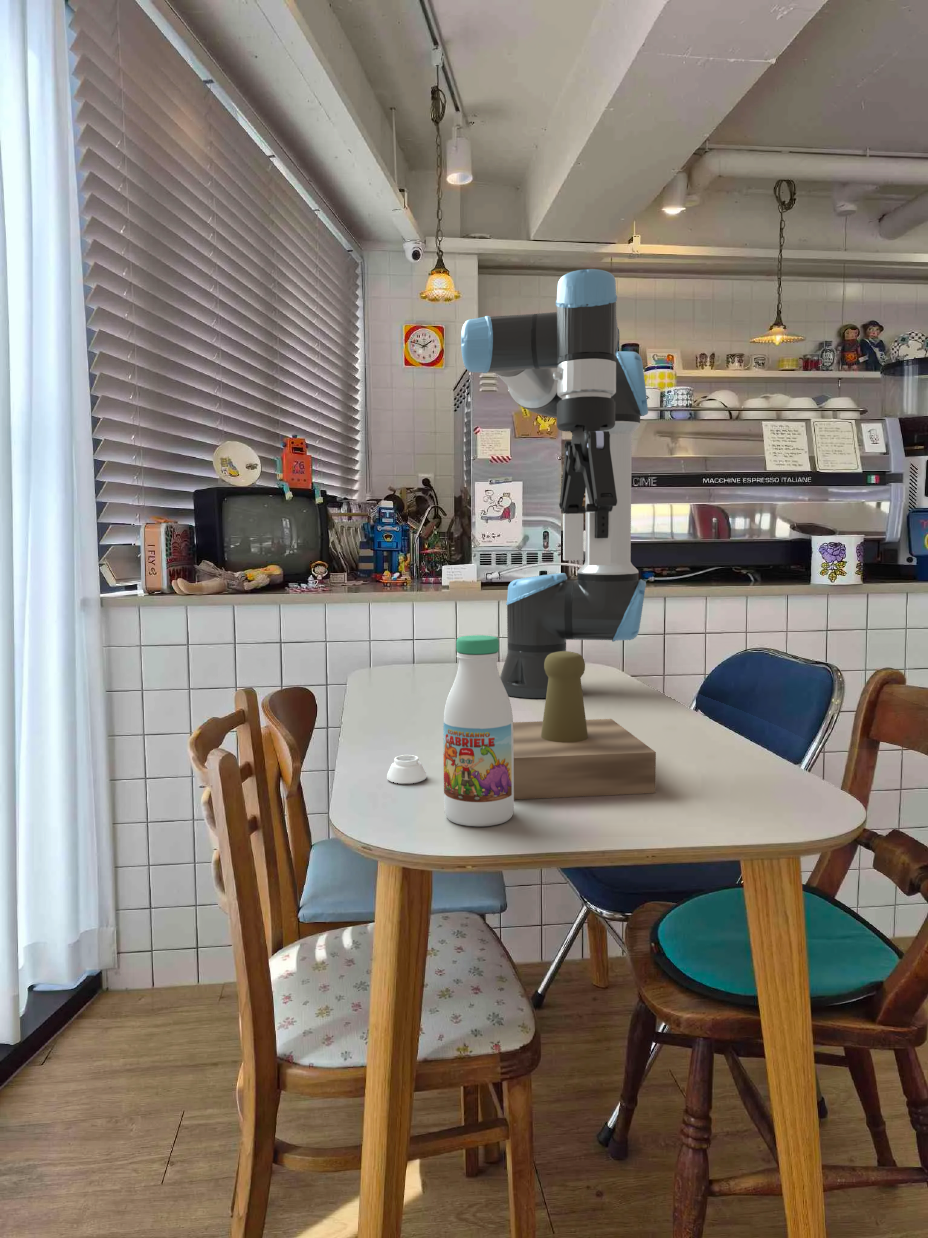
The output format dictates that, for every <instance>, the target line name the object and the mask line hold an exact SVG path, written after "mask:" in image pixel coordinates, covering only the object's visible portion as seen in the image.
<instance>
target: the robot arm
mask: <svg viewBox="0 0 928 1238" xmlns="http://www.w3.org/2000/svg"><path fill="white" fill-rule="evenodd" d="M556 291H557V292H556V300H555V307H556V311H555V312H541V313H530V314H513V315H497V316H496V315H495V316H489V315H485V316H483V317H476V318H471V319H467V320H466V321H464V324H463V325H462V327H461V333H460V347H461V348H460V349H461V350H460V351H461V357H462V362H463V365H464V368H465V369H466V370H467V371H468V372H469V373H482V374H488V373H494V374H495V375H497V376H498V378H499V379H501V380H502V382H504V384H505V385H506V386H507V389H508V393H509V395H510V396H511V398H512V399H513V400H514V401H515V403H517V404H518V405H519V406H520V407H522V408H523V409H525V410H527V411H530V412H533V413H535V414H538V415H540V416H545V417H548V418H553V419H556V428H557V429H558V430H559V431H562V432H570V433H571V440H568V441H567V440H565V443H564V447H563V448H564V457H563V466H562V467H563V469H562V479H561V488H560V494H559V495H560V497H559V503H558V506H559V509H560V510H561V511H562V513H563V516H562V517H563V518H562V522H563V523H562V525H563V526H562V527H563V530H562V534H563V538H562V541H563V542H562V543H563V546H562V549H563V550H562V553H563V555H562V560H563V561H584V560H585V561H584V564H583V565H581V566H580V567H579V569H578V570H577V572H576V573H577V577H576V578H577V579H576V580H575V579H573V580H572V579H571V580H568V576H567V574H566V573H565V572H561V573H558V572H557V573H551V574H550V573H549V574H542V575H535V576H528V577H522V578H518V579H514V580H512V581H510V583H509V584H508V586H507V595H506V598H507V600H506V603H505V604H506V606H507V607H506V609H507V611H506V612H507V614H506V616H507V617H506V618H507V619H506V623H507V626H506V627H507V634H506V635H507V641H506V643H507V650H506V651H507V652H506V657H505V660H504V662H503V666H502V669H501V672H500V678H501V681H502V683H503V685H504V688H505V690H506V692H507V694H508V697H509V696H510V697H514V698H523V699H546V694H547V686H548V679H549V677H548V676H547V674H546V672H545V669H544V662H545V659H546V657H547V655H549V654H551V653H554V652H560V651H567V641H568V640H569V641H571V640H574V641H577V640H578V641H611V642H616V641H631V640H634V639H636V638H637V637H638V635H639V632H640V628H641V627H640V626H641V622H642V621H641V619H642V616H643V615H642V613H643V606H644V599H645V593H646V592H645V591H646V586H647V582H646V580H643V579H641V578H640V579H639V569H637V568H636V567H635V566H634V565H633V563H632V562H631V553H632V551H631V549H632V548H631V547H632V546H631V545H632V544H631V542H632V541H631V540H632V536H631V535H632V532H631V531H632V453H633V452H632V451H633V450H632V448H633V447H632V445H633V444H632V443H633V441H632V440H633V434H634V433H635V432H636V430H638V428H639V427H640V426H641V417H644V416H646V415H648V414H649V408H648V407H649V406H648V399H647V398H648V397H647V390H646V389H647V388H646V381H645V372H644V364H643V359H642V357H641V356H642V355H640V354H639V353H638V352H636V351H618V350H619V347H620V328H619V327H618V319H617V299H618V295H617V282H616V277H615V276H614V274H612V273H611V272H609V271H608V270H607V271H606V270H603V269H597V268H589V269H588V268H587V269H577V270H573V271H570V272H567V273H566V274H564V275H562V276H561V277H560V279H559V280H558V282H557V290H556ZM584 498H585V505H583V503H584ZM584 514H585V516H584ZM584 517H585V519H584ZM584 521H585V523H584ZM584 524H585V527H584ZM584 528H585V541H584ZM584 542H585V544H584ZM584 545H585V546H584ZM584 547H585V548H584ZM584 549H585V551H584ZM584 552H585V553H584ZM584 555H585V556H584ZM584 558H585V559H584Z"/></svg>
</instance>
